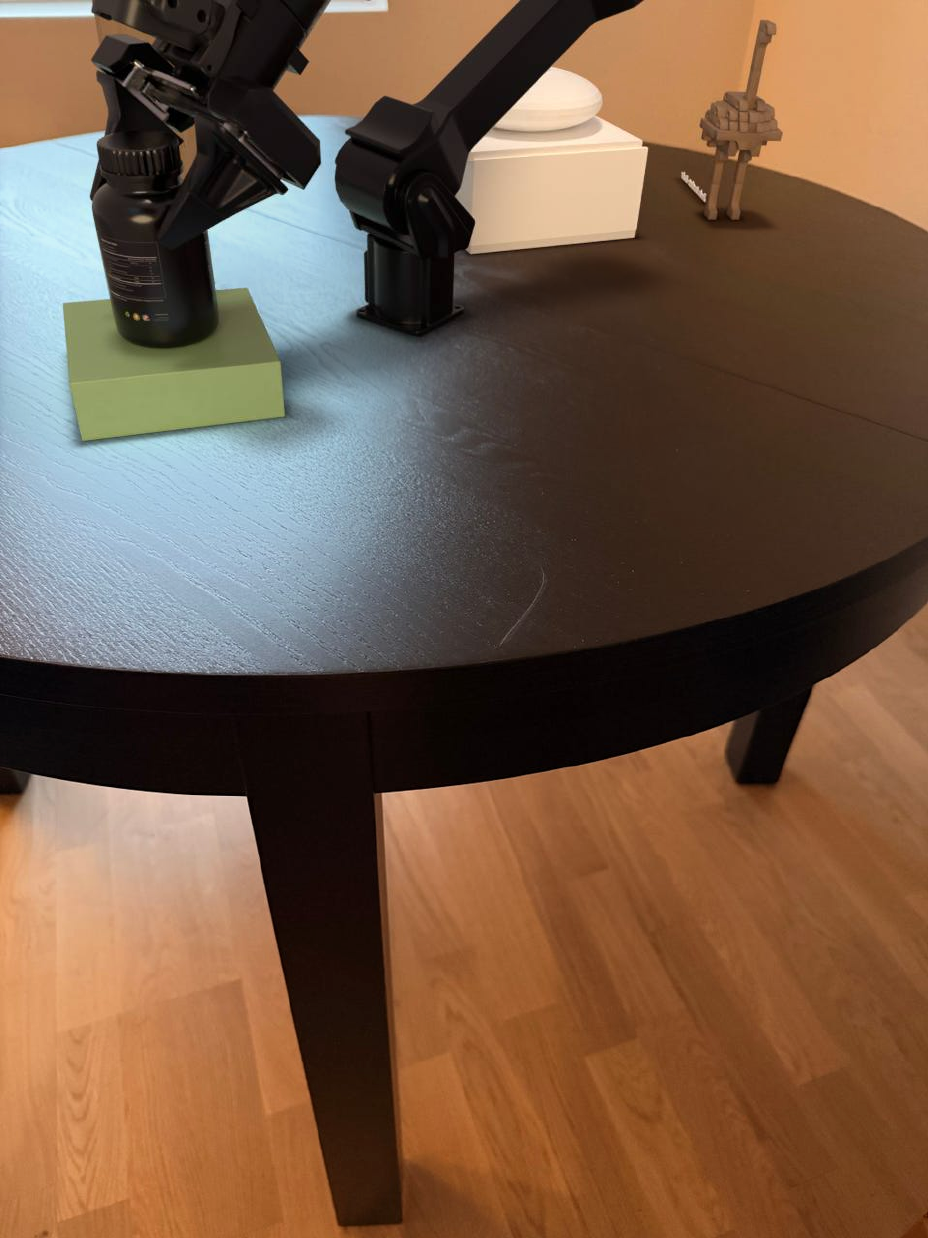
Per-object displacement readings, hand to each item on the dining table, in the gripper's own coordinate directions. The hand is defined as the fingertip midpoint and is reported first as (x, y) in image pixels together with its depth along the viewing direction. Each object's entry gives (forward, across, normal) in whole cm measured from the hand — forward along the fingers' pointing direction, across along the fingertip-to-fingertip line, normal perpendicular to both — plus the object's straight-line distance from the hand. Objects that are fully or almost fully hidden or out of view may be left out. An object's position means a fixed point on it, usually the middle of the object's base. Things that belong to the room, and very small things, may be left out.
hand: (128, 223), depth 62 cm
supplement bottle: (+4, 0, +6) cm, 8 cm away
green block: (+7, 0, +9) cm, 11 cm away
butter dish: (-25, -14, +41) cm, 50 cm away
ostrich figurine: (-40, -6, +56) cm, 69 cm away
